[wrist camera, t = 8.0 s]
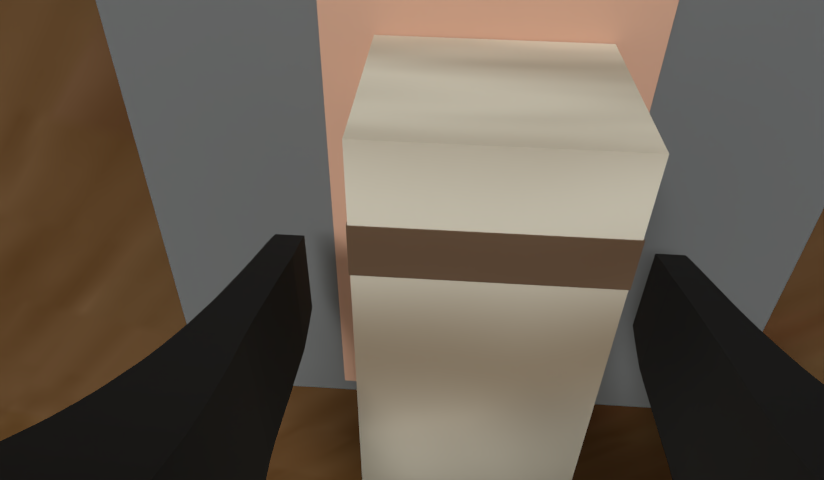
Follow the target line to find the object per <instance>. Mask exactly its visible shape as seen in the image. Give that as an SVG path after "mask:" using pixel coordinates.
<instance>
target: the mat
mask: <svg viewBox="0 0 824 480" xmlns="http://www.w3.org/2000/svg"><path fill="white" fill-rule="evenodd" d="M96 3H97V7H98V10H99V14H100V18H101V21H102V25H103V28H104V32H105V35H106V39H107V42H108V46H109V50H110V53H111V57H112V60H113V64H114V67H115V71H116V74H117V78H118V81H119V85H120V89H121V92H122V96H123V99H124V103H125V106H126V110H127V113H128V117H129V121H130V124H131V128H132V131H133V135H134V138H135V142H136V145H137V149H138V153H139V156H140V160H141V163H142V167H143V170H144V174H145V177H146V181H147V184H148V188H149V192H150V195H151V199H152V202H153V206H154V209H155V213H156V216H157V220H158V224H159V227H160V231H161V234H162V238H163V241H164V245H165V248H166V252H167V256H168V259H169V263H170V266H171V270H172V273H173V277H174V280H175V284H176V287H177V291H178V295H179V298H180V302H181V305H182V309H183V312H184V316H185V319H186V323H187V324H188V323H189V322H190V321H191V320H192V319H193V318H194V317H195V316H197V315H198V314H199V313H200V312H201V311H202V310H203V309H204V308H205V307H206V306H207V305H208V304H210V303H211V302H212V301H213V300H214V299H215V298H216V297H217V296H218V295H219V294H220V293H221V292H222V291H223V290H224V288H225V287H226V286H227V285H228V284H229V283H230V282H231V281H232V280H233V279H234V278H235V277H236V276H237V275H238V274H239V273H240V272H241V271H242V270H243V269H244V268H245V266H246V265H247V264H248V263H249V262H250V261H251V260H252V259H253V258H254V256H255V255H256V254H257V253H258V252H259V251H260V250H261V249H262V247H263V246H264V245H265V244H266V243H267V242H268V241H269V240H270V239H271V238H272V237H273V236H274V235H275V234H284V235H303V236H304V237H305V246H306V255H307V264H308V273H309V282H310V291H311V300H312V312H311V317H310V323H309V329H308V334H307V339H306V344H305V349H304V353H303V356H302V359H301V362H300V366H299V369H298V372H297V375H296V378H295V381H294V384H293V386H307V387H323V388H339V389H356V390H357V382H356V365H355V349H354V332H353V315H352V298H351V281H350V275H349V272H348V255H347V239H346V223H347V213H346V197H345V180H344V163H343V146H342V138H343V135H344V131H345V128H346V125H347V122H348V118H349V115H350V112H351V108H352V105H353V102H354V99H355V95H356V92H357V89H358V86H359V82H360V79H361V76H362V72H363V69H364V66H365V63H366V59H367V56H368V53H369V50H370V46H371V43H372V40H373V36H374V35H393V36H419V37H445V38H471V39H498V40H524V41H550V42H576V43H603V44H616V46H617V48H618V50H619V52H620V54H621V56H622V58H623V60H624V62H625V64H626V66H627V68H628V70H629V72H630V74H631V76H632V79H633V81H634V83H635V85H636V87H637V89H638V91H639V93H640V95H641V97H642V99H643V101H644V103H645V105H646V107H647V109H648V111H649V113H650V115H651V117H652V119H653V122H654V124H655V126H656V128H657V130H658V132H659V134H660V136H661V138H662V140H663V142H664V144H665V146H666V148H667V150H668V152H669V157H668V160H667V163H666V167H665V170H664V173H663V177H662V180H661V183H660V187H659V190H658V193H657V197H656V200H655V203H654V207H653V210H652V213H651V217H650V220H649V223H648V227H647V230H646V234H645V237H644V240H645V243H644V246H643V250H642V253H641V256H640V260H639V263H638V266H637V270H636V273H635V276H634V280H633V283H632V286H631V290H628V294H627V297H626V300H625V304H624V307H623V310H622V314H621V317H620V320H619V324H618V327H617V330H616V334H615V337H614V340H613V344H612V347H611V351H610V354H609V357H608V361H607V364H606V367H605V371H604V374H603V377H602V381H601V384H600V387H599V391H598V394H597V397H596V401H595V404H600V405H616V406H632V407H648V408H651V406H650V403H649V399H648V396H647V393H646V389H645V386H644V383H643V379H642V376H641V372H640V369H639V363H638V357H637V352H636V345H635V338H634V331H633V323H634V319H635V316H636V313H637V310H638V307H639V304H640V300H641V297H642V294H643V291H644V288H645V285H646V281H647V278H648V275H649V272H650V269H651V266H652V263H653V259H654V256H655V254H672V255H686V256H687V257H688V258H689V259H690V260H691V261H692V262H693V263H694V264H695V265H696V266H697V267H698V268H699V269H700V270H701V271H702V272H703V273H704V274H705V275H706V276H707V277H708V278H709V279H710V280H711V281H712V282H713V283H714V284H715V285H716V286H717V287H718V288H719V289H720V290H721V291H722V292H723V294H724V295H725V296H726V297H727V298H728V299H729V300H730V301H731V302H732V303H733V304H734V305H735V306H736V307H737V308H738V309H739V310H740V311H741V312H742V313H743V314H744V315H745V316H746V317H747V318H748V319H749V320H750V321H751V322H752V323H753V324H755V325H756V326H757V327H758V328H759V329H760V330H761V331H762V332H763V330H764V327H765V325H766V323H767V321H768V319H769V317H770V315H771V313H772V311H773V309H774V307H775V305H776V303H777V301H778V299H779V297H780V295H781V293H782V291H783V289H784V287H785V285H786V283H787V281H788V279H789V277H790V275H791V273H792V271H793V269H794V267H795V265H796V263H797V261H798V259H799V257H800V255H801V253H802V251H803V249H804V247H805V245H806V243H807V241H808V239H809V237H810V235H811V233H812V231H813V229H814V227H815V225H816V223H817V220H818V218H819V216H820V214H821V212H822V210H823V208H824V0H96Z"/></svg>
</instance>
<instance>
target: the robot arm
mask: <svg viewBox="0 0 824 480" xmlns="http://www.w3.org/2000/svg"><path fill="white" fill-rule="evenodd" d="M311 312H312V300H311V291H310V282H309V273H308V264H307V255H306V246H305V237H304V236H303V235H284V234H275V235H274V236H273V237H272V238H271V239H270V240H269V241H268V242H267V243H266V244H265V245H264V246H263V247H262V249H261V250H260V251H259V252H258V253H257V254H256V255H255V256H254V258H253V259H252V260H251V261H250V262H249V263H248V264H247V265H246V266H245V268H244V269H243V270H242V271H241V272H240V273H239V274H238V275H237V276H236V277H235V278H234V279H233V280H232V281H231V282H230V283H229V284H228V285H227V286H226V287H225V288H224V290H223V291H222V292H221V293H220V294H219V295H218V296H217V297H216V298H215V299H214V300H213V301H212V302H211V303H210V304H208V305H207V306H206V307H205V308H204V309H203V310H202V311H201V312H200V313H199V314H198V315H197V316H195V317H194V318H193V319H192V320H191V321H190V322H189V323H188V324H187V325H186V326H185V327H183V328H182V329H181V330H180V331H179V332H178V333H176V334H175V335H174V336H173V337H172V338H170V339H169V340H168V341H167V342H165V343H164V344H163V345H162V346H160V347H159V348H158V349H157V350H155V351H154V352H153V353H151V354H150V355H149V356H147V357H146V358H145V359H143V360H142V361H141V362H139V363H138V364H136V365H135V366H133V367H132V368H130V369H129V370H127V371H126V372H124V373H123V374H121V375H120V376H118V377H117V378H115V379H114V380H112V381H111V382H109V383H108V384H106V385H105V386H103V387H101V388H100V389H98V390H97V391H95V392H93V393H92V394H90V395H88V396H86V397H85V398H83V399H81V400H80V401H78V402H76V403H75V404H73V405H71V406H69V407H67V408H66V409H64V410H62V411H60V412H58V413H56V414H55V415H53V416H51V417H49V418H47V419H45V420H43V421H41V422H39V423H37V424H35V425H33V426H31V427H29V428H27V429H25V430H23V431H21V432H19V433H17V434H15V435H13V436H11V437H9V438H6V439H4V440H2V441H0V480H266V476H267V472H268V467H269V462H270V458H271V454H272V451H273V447H274V444H275V440H276V437H277V434H278V431H279V428H280V424H281V421H282V418H283V415H284V412H285V409H286V406H287V403H288V400H289V397H290V394H291V391H292V387H293V384H294V381H295V378H296V375H297V372H298V369H299V366H300V362H301V359H302V356H303V353H304V349H305V344H306V339H307V334H308V329H309V323H310V317H311ZM633 331H634V338H635V345H636V352H637V357H638V363H639V369H640V372H641V376H642V379H643V383H644V386H645V389H646V393H647V396H648V399H649V403H650V406H651V409H652V412H653V416H654V419H655V422H656V425H657V429H658V432H659V435H660V438H661V441H662V445H663V448H664V451H665V454H666V458H667V461H668V464H669V468H670V471H671V475H672V479H673V480H824V384H822V383H821V382H820V381H818V380H817V379H816V378H815V377H813V376H812V375H811V374H810V373H808V372H807V371H806V370H805V369H804V368H802V367H801V366H800V365H799V364H798V363H796V362H795V361H794V360H793V359H792V358H791V357H790V356H788V355H787V354H786V353H785V352H784V351H783V350H782V349H781V348H779V347H778V346H777V345H776V344H775V343H774V342H773V341H772V340H770V339H769V338H768V337H767V336H766V335H765V334H764V333H763V332H762V331H761V330H760V329H759V328H758V327H757V326H756V325H755V324H753V323H752V322H751V321H750V320H749V319H748V318H747V317H746V316H745V315H744V314H743V313H742V312H741V311H740V310H739V309H738V308H737V307H736V306H735V305H734V304H733V303H732V302H731V301H730V300H729V299H728V298H727V297H726V296H725V295H724V294H723V292H722V291H721V290H720V289H719V288H718V287H717V286H716V285H715V284H714V283H713V282H712V281H711V280H710V279H709V278H708V277H707V276H706V275H705V274H704V273H703V272H702V271H701V270H700V269H699V268H698V267H697V266H696V265H695V264H694V263H693V262H692V261H691V260H690V259H689V258H688V257H687V256H686V255H672V254H655V256H654V259H653V263H652V266H651V269H650V272H649V275H648V278H647V281H646V285H645V288H644V291H643V294H642V297H641V300H640V304H639V307H638V310H637V313H636V316H635V319H634V323H633Z"/></svg>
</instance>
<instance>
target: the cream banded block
mask: <svg viewBox="0 0 824 480" xmlns="http://www.w3.org/2000/svg"><path fill="white" fill-rule="evenodd" d="M342 146H343V163H344V180H345V197H346V213H347V223H346V239H347V255H348V272H349V275H350V281H351V298H352V315H353V332H354V349H355V365H356V382H357V399H358V416H359V433H360V450H361V467H362V480H572V478H573V474H574V471H575V468H576V464H577V461H578V458H579V454H580V451H581V447H582V444H583V441H584V437H585V434H586V431H587V427H588V424H589V421H590V417H591V414H592V411H593V407H594V404H595V401H596V397H597V394H598V391H599V387H600V384H601V381H602V377H603V374H604V371H605V367H606V364H607V361H608V357H609V354H610V351H611V347H612V344H613V340H614V337H615V334H616V330H617V327H618V324H619V320H620V317H621V314H622V310H623V307H624V304H625V300H626V297H627V294H628V290H631V286H632V283H633V280H634V276H635V273H636V270H637V266H638V263H639V260H640V256H641V253H642V250H643V246H644V243H645V240H644V237H645V234H646V230H647V227H648V223H649V220H650V217H651V213H652V210H653V207H654V203H655V200H656V197H657V193H658V190H659V187H660V183H661V180H662V177H663V173H664V170H665V167H666V163H667V160H668V157H669V152H668V150H667V148H666V146H665V144H664V142H663V140H662V138H661V136H660V134H659V132H658V130H657V128H656V126H655V124H654V122H653V119H652V117H651V115H650V113H649V111H648V109H647V107H646V105H645V103H644V101H643V99H642V97H641V95H640V93H639V91H638V89H637V87H636V85H635V83H634V81H633V79H632V76H631V74H630V72H629V70H628V68H627V66H626V64H625V62H624V60H623V58H622V56H621V54H620V52H619V50H618V48H617V46H616V44H603V43H576V42H550V41H524V40H498V39H471V38H445V37H419V36H393V35H374V36H373V40H372V43H371V46H370V50H369V53H368V56H367V59H366V63H365V66H364V69H363V72H362V76H361V79H360V82H359V86H358V89H357V92H356V95H355V99H354V102H353V105H352V108H351V112H350V115H349V118H348V122H347V125H346V128H345V131H344V135H343V138H342Z"/></svg>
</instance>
